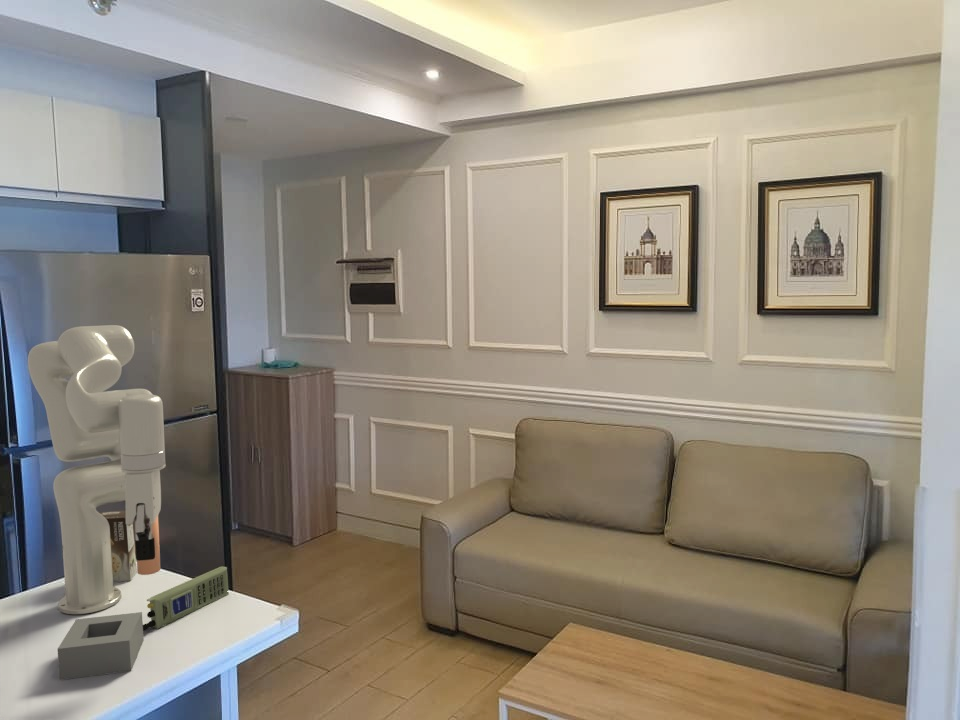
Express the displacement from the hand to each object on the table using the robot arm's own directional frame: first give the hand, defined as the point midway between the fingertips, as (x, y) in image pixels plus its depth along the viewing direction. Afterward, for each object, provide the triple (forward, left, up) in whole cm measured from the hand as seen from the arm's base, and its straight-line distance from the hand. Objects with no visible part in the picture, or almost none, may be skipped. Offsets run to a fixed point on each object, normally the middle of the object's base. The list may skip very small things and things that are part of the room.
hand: (147, 553), depth 137 cm
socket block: (-2, -9, -21) cm, 23 cm away
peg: (0, 0, -3) cm, 3 cm away
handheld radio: (-19, +3, -21) cm, 28 cm away
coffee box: (-44, -16, -21) cm, 52 cm away
